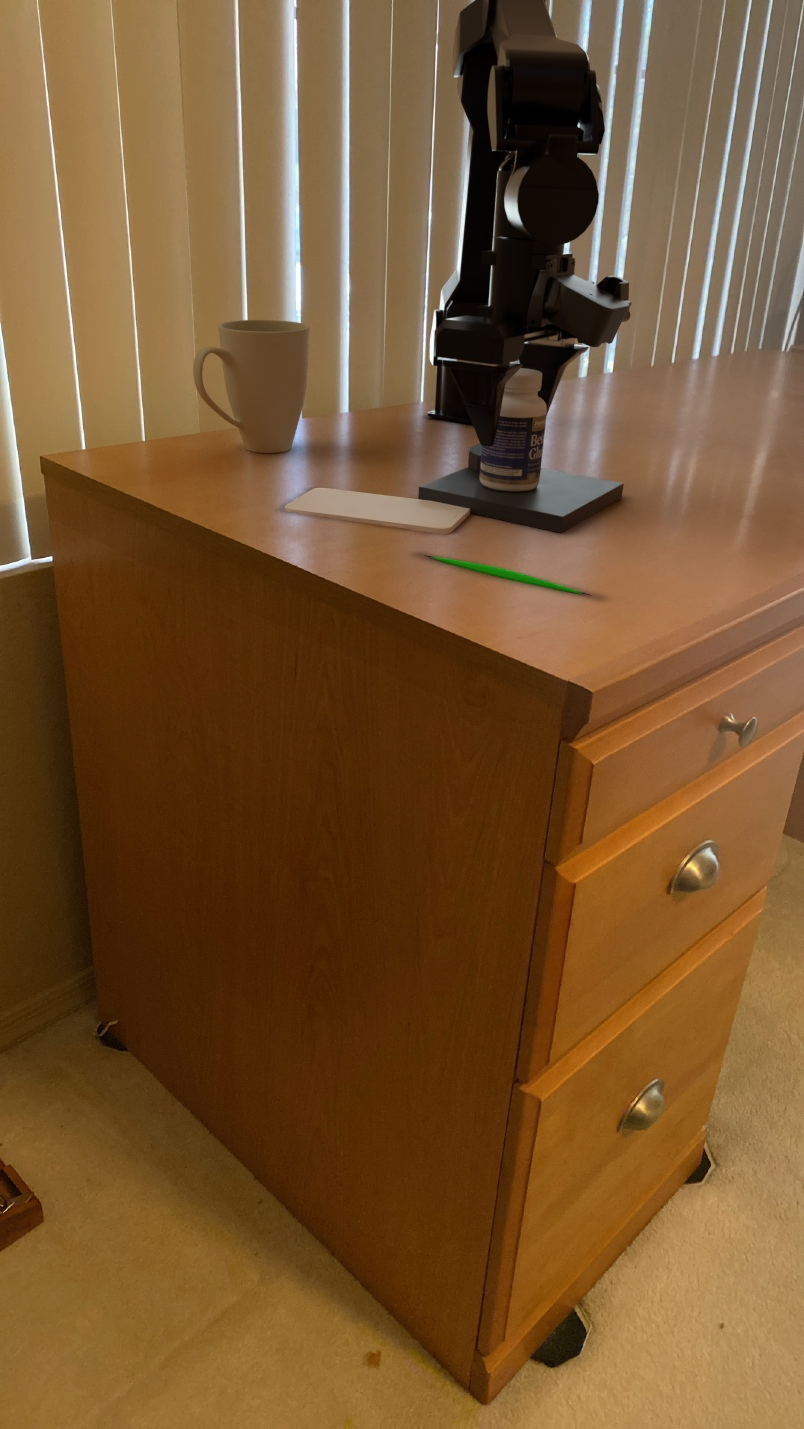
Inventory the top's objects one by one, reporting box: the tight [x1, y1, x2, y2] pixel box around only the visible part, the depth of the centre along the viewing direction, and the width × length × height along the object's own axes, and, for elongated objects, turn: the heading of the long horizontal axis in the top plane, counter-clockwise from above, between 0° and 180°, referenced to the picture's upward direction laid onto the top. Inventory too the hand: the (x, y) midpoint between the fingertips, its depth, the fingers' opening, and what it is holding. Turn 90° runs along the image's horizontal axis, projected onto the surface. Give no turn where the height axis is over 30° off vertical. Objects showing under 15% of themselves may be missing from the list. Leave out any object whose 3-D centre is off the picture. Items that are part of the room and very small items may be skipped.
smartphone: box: [284, 487, 471, 535], centre depth 84 cm, size 7×1×15 cm
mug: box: [192, 319, 310, 454], centre depth 99 cm, size 11×10×12 cm
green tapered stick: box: [423, 554, 593, 597], centre depth 71 cm, size 1×14×1 cm, turn 57°
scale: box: [417, 443, 625, 534], centre depth 88 cm, size 14×14×3 cm
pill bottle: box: [480, 368, 547, 492], centre depth 85 cm, size 5×5×10 cm
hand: (512, 436), depth 85 cm, fingers open, 9 cm apart
